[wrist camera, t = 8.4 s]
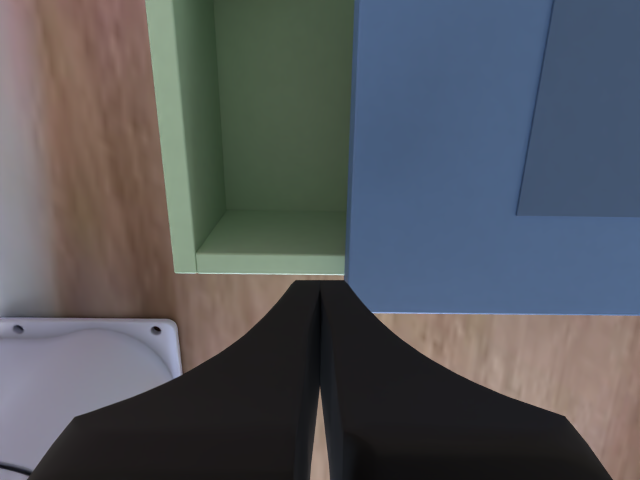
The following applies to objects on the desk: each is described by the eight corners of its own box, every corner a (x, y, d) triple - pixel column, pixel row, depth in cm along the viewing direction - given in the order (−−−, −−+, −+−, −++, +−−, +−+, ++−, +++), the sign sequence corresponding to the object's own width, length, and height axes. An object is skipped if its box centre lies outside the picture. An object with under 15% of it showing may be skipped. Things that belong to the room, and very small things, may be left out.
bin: (213, 221, 21) (174, 273, 15) (192, -61, 17) (129, -137, 11) (534, 225, 21) (616, 278, 15) (587, -53, 17) (725, -124, 11)
